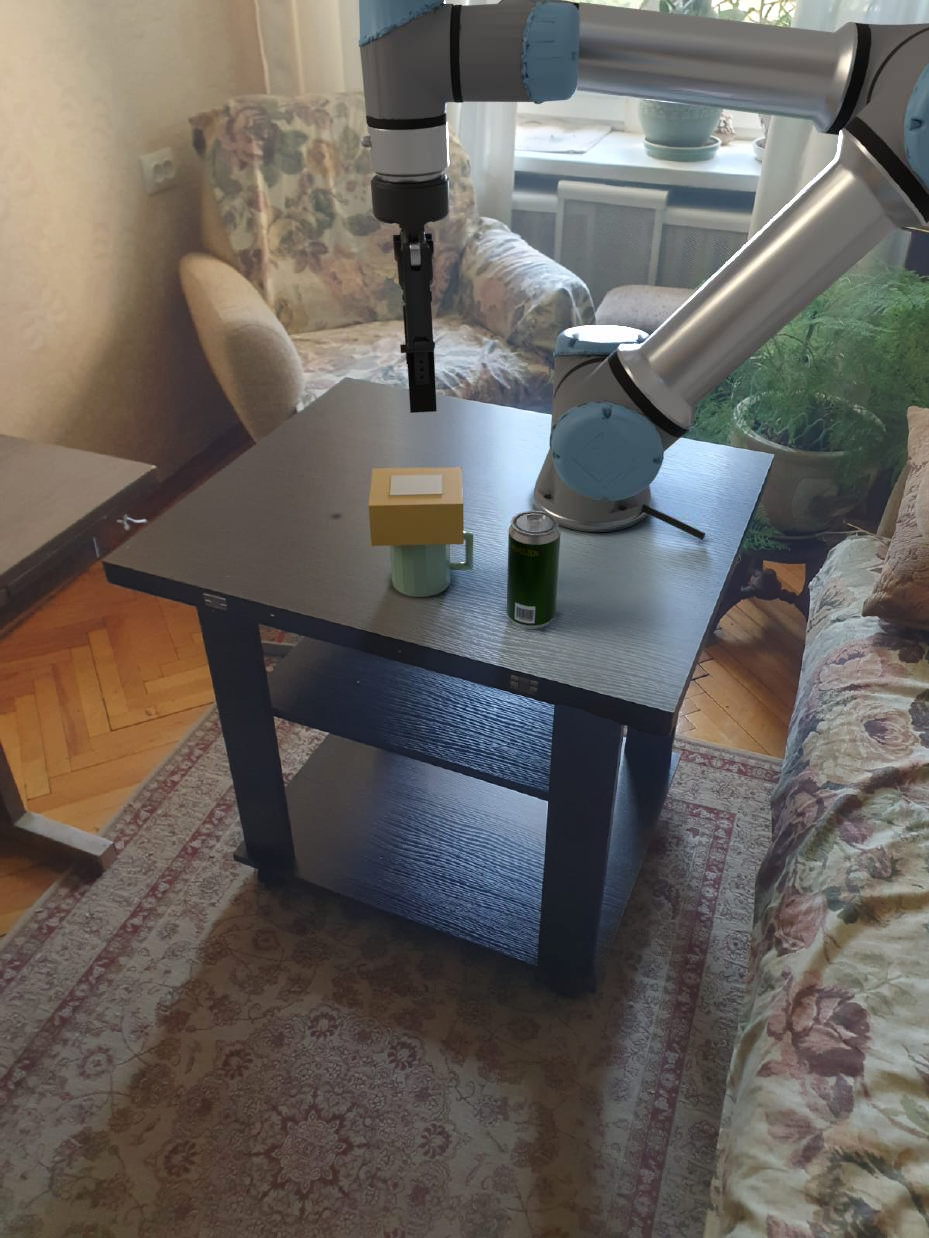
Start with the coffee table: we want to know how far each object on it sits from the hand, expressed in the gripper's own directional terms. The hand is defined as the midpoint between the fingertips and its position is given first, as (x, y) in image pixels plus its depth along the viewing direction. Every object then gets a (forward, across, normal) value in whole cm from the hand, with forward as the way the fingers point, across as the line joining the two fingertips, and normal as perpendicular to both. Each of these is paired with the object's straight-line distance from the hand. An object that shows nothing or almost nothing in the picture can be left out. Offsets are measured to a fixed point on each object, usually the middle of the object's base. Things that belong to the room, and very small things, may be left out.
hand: (420, 385), depth 102 cm
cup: (+21, +7, 0) cm, 22 cm away
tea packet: (+14, +6, -1) cm, 15 cm away
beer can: (+22, +15, +10) cm, 28 cm away
